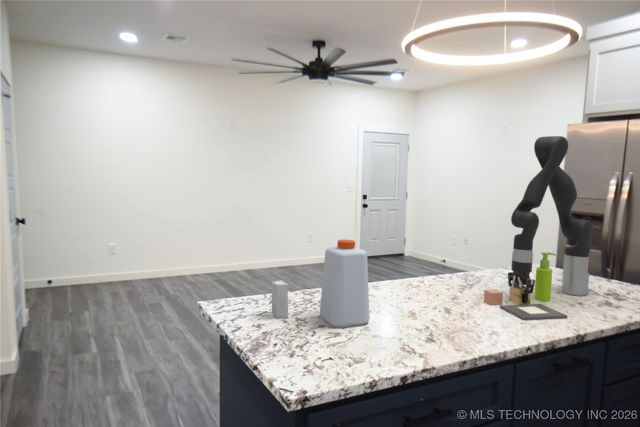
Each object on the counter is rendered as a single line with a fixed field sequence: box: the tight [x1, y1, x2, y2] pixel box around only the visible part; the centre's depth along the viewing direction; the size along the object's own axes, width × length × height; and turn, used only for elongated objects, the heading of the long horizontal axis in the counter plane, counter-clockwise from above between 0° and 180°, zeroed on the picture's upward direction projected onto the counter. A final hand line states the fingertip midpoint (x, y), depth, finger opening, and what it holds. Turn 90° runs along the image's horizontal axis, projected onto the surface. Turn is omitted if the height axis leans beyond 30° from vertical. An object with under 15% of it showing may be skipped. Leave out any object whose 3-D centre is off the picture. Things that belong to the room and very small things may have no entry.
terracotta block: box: [483, 289, 504, 306], centre depth 167 cm, size 5×5×5 cm
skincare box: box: [270, 279, 289, 320], centre depth 146 cm, size 6×4×12 cm
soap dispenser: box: [533, 251, 557, 302], centre depth 173 cm, size 6×7×20 cm
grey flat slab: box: [499, 303, 568, 321], centre depth 156 cm, size 18×14×1 cm
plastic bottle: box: [319, 239, 370, 328], centre depth 143 cm, size 15×15×28 cm
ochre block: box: [508, 285, 532, 305], centre depth 169 cm, size 6×6×6 cm
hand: (519, 300), depth 169 cm, fingers closed on ochre block, 5 cm apart
